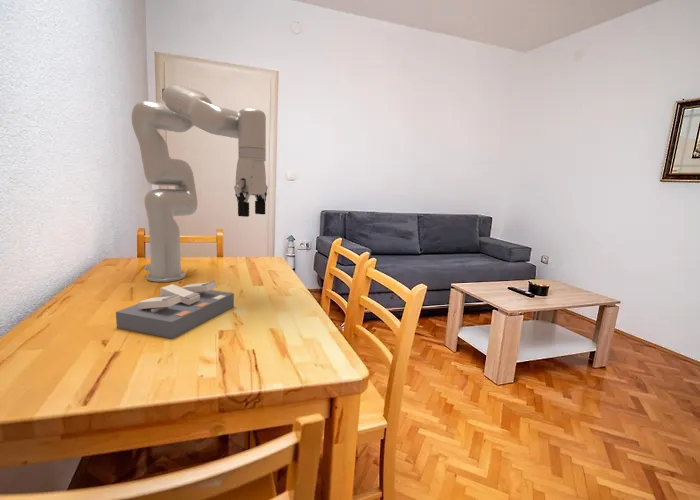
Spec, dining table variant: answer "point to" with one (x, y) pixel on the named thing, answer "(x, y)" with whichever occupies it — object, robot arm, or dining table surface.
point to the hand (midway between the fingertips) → (252, 215)
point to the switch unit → (174, 315)
